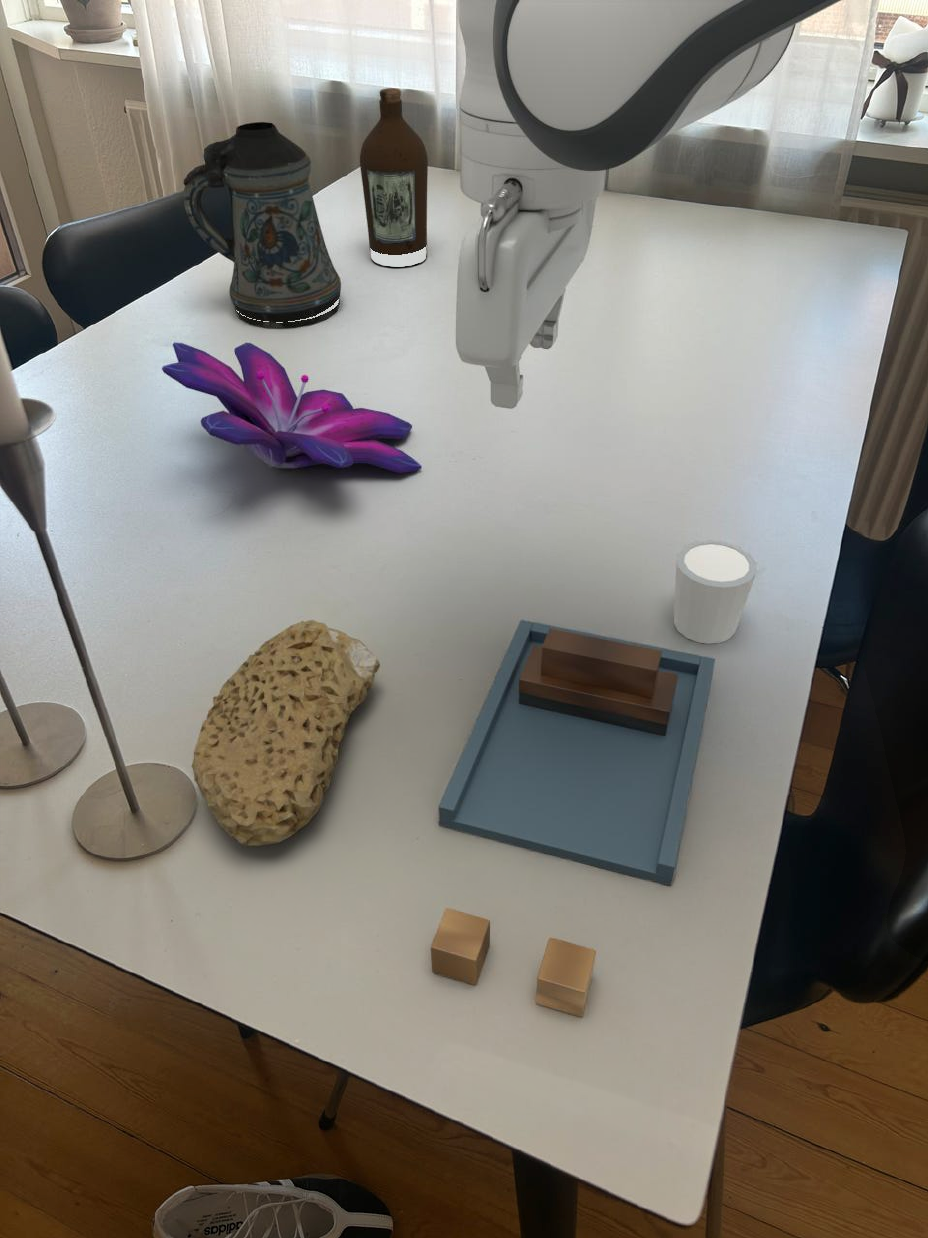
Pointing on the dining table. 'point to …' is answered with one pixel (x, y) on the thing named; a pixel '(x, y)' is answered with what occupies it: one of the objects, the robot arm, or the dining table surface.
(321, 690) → the sponge
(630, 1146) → the dining table surface
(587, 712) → the brush
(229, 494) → the dining table surface
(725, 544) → the white cup
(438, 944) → the brown wooden cube
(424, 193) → the olive oil
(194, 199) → the beer stein
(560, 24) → the robot arm
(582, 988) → the light brown wooden cube
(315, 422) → the decorative flower
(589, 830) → the tray
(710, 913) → the dining table surface
